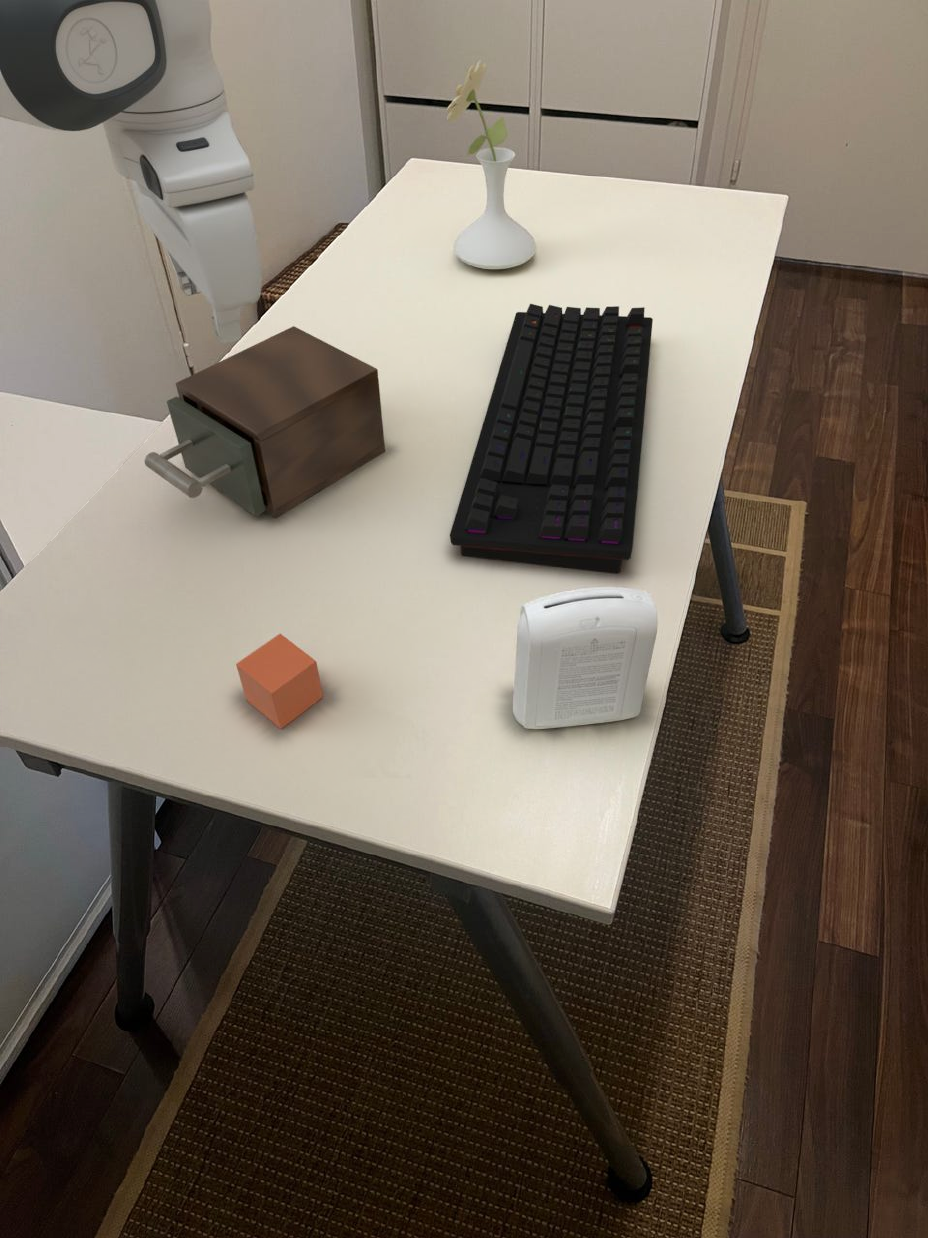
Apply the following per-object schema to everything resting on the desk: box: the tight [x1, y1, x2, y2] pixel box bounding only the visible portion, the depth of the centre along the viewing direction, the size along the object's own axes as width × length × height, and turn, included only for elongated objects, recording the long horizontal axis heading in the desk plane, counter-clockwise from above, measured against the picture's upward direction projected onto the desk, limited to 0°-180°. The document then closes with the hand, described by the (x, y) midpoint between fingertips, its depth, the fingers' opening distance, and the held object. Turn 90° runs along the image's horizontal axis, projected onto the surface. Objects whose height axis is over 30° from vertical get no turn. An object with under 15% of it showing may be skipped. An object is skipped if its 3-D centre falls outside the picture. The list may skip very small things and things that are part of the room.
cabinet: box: [175, 325, 386, 519], centre depth 93 cm, size 15×13×10 cm
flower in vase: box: [446, 59, 537, 270], centre depth 119 cm, size 13×11×25 cm
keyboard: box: [449, 303, 654, 575], centre depth 97 cm, size 42×16×5 cm, turn 169°
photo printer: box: [512, 586, 659, 730], centre depth 69 cm, size 10×4×12 cm, turn 98°
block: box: [235, 633, 324, 730], centre depth 73 cm, size 4×4×4 cm
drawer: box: [144, 396, 265, 517], centre depth 91 cm, size 19×12×8 cm, turn 137°
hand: (210, 313), depth 77 cm, fingers open, 8 cm apart
